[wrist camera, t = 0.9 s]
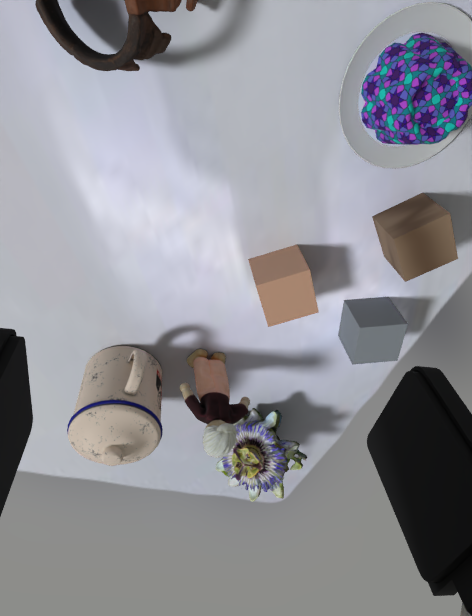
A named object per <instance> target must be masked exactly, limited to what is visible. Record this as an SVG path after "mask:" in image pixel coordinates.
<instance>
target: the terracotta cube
mask: <svg viewBox="0 0 472 616" xmlns="http://www.w3.org/2000/svg"><path fill="white" fill-rule="evenodd" d="M248 260H249V263H250V267H251V270H252V274H253V277H254V281H255V284H256V288H257V291H258V294H259V297H260V301H261V304H262V307H263V311H264V314H265V317H266V321H267V324H268V327H270V326H273V325H277V324H280V323H284V322H287V321H290V320H294V319H297V318H301V317H304V316H308V315H311V314H314V313H318V307H317V302H316V297H315V292H314V287H313V282H312V277H311V272H310V269H309V267H308V265H307V263H306V261H305V259H304V257H303V255H302V253H301V251H300V249H299V247H298V245H294V246H290V247H287V248H284V249H280V250H277V251H274V252H271V253H267V254H264V255H261V256H257V257H254V258H251V259H248Z"/></svg>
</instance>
